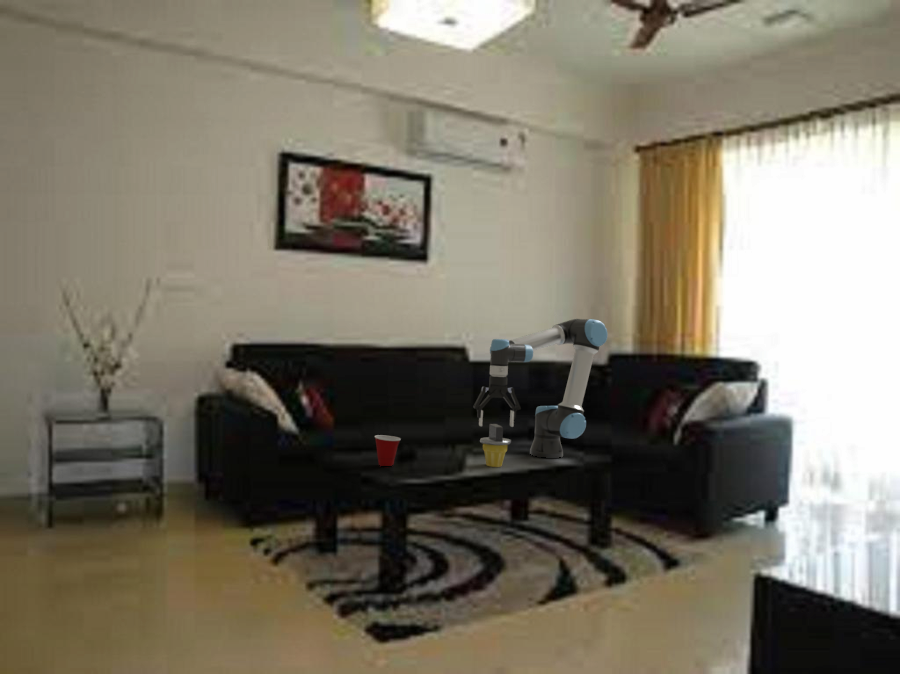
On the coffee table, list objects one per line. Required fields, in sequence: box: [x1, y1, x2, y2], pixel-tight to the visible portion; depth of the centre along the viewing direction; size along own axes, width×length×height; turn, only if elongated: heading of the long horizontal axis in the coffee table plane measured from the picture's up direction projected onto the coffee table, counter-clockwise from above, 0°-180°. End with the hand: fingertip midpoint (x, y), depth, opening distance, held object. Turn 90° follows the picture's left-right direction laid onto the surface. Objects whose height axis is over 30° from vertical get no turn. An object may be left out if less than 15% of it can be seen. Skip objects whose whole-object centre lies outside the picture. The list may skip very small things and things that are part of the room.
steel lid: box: [479, 423, 512, 446], centre depth 338 cm, size 13×13×7 cm
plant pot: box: [482, 443, 509, 468], centre depth 338 cm, size 10×10×10 cm
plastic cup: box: [374, 434, 402, 467], centre depth 326 cm, size 11×11×12 cm
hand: (496, 426), depth 338 cm, fingers open, 13 cm apart
